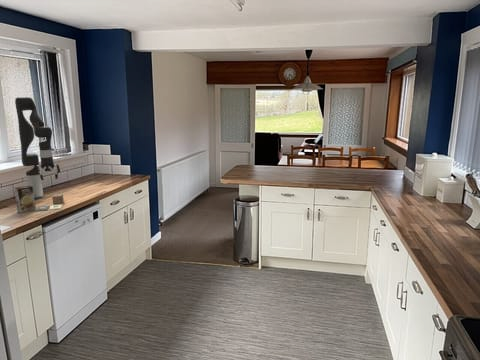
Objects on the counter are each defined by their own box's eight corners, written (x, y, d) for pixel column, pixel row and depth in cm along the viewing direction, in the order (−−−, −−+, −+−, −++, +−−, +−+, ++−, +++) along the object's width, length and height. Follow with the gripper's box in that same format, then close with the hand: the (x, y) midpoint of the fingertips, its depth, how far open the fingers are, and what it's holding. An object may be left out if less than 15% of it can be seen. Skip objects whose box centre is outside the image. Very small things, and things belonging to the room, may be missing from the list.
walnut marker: (54, 202, 254) (53, 194, 253) (63, 201, 256) (62, 193, 254) (53, 205, 248) (52, 196, 247) (62, 204, 250) (61, 195, 249)
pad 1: (38, 207, 242) (38, 206, 242) (49, 206, 244) (49, 205, 244) (35, 211, 233) (35, 210, 232) (47, 210, 235) (47, 209, 235)
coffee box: (21, 213, 230) (17, 189, 226) (17, 211, 234) (13, 187, 230) (36, 209, 237) (32, 186, 233) (32, 208, 241) (28, 185, 237)
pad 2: (51, 206, 244) (51, 205, 244) (62, 205, 247) (62, 204, 246) (49, 210, 235) (48, 208, 235) (60, 209, 237) (60, 207, 237)
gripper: (58, 155, 248) (61, 177, 251) (36, 156, 244) (39, 179, 247) (57, 156, 241) (60, 179, 244) (33, 157, 237) (36, 181, 240)
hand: (49, 179), depth 245 cm, fingers open, 8 cm apart
